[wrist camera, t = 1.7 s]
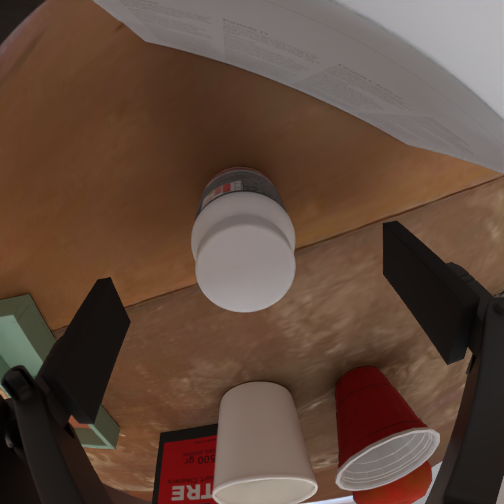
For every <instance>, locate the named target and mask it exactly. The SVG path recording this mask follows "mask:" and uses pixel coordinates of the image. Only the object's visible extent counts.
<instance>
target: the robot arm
mask: <svg viewBox="0 0 504 504" xmlns="http://www.w3.org/2000/svg"><path fill="white" fill-rule="evenodd" d="M383 275H384V276H385V277H386V279H387V280H388V281H389V283H390V284H391V285H392V287H393V288H394V289H395V291H396V292H397V293H398V295H399V296H400V297H401V299H402V300H403V302H404V303H405V304H406V306H407V307H408V308H409V310H410V311H411V313H412V314H413V315H414V317H415V318H416V320H417V321H418V322H419V324H420V325H421V327H422V328H423V330H424V331H425V333H426V334H427V335H428V337H429V338H430V340H431V341H432V343H433V344H434V346H435V347H436V349H437V350H438V352H439V353H440V355H441V356H442V358H443V359H444V361H445V362H446V364H447V365H449V364H451V363H454V362H456V361H459V360H461V359H464V356H465V353H466V350H467V347H468V348H469V349H470V350H471V352H472V353H473V354H472V357H471V360H470V363H469V365H468V368H467V371H466V374H468V375H467V379H466V384H465V388H464V392H463V396H462V400H461V404H460V408H459V412H458V415H457V419H456V422H455V426H454V429H453V432H452V435H451V438H450V441H449V444H448V447H447V450H446V453H445V456H444V459H443V462H442V464H441V467H440V470H439V472H438V475H437V477H436V480H435V482H434V484H433V487H432V489H431V491H430V494H429V496H428V498H427V500H426V503H425V504H496V501H497V497H498V494H499V490H500V487H501V483H502V479H503V476H504V297H496V298H494V297H493V296H492V295H491V294H490V293H489V292H488V291H487V290H486V289H485V288H484V287H483V286H482V285H481V284H480V283H479V282H478V281H477V280H476V281H475V279H474V278H473V277H472V276H471V275H469V273H468V272H467V271H466V270H465V269H464V268H462V267H461V266H459V265H457V264H454V263H452V262H450V263H447V264H446V263H445V262H443V261H442V260H441V259H440V258H439V257H438V256H437V255H436V254H435V253H434V252H432V251H431V250H430V249H429V248H428V247H427V246H426V245H425V244H424V243H422V242H421V241H420V240H419V239H418V238H417V237H416V236H414V235H413V234H412V233H411V232H410V231H409V230H407V229H406V228H405V227H404V226H403V225H401V224H400V223H399V222H398V221H392V222H387V223H383ZM130 322H131V321H130V319H129V317H128V315H127V313H126V311H125V309H124V306H123V304H122V302H121V300H120V298H119V295H118V293H117V291H116V289H115V286H114V284H113V282H112V279H111V277H108V278H103V279H98V280H97V281H96V283H95V284H94V286H93V288H92V289H91V291H90V292H89V294H88V295H87V297H86V298H85V300H84V302H83V303H82V305H81V306H80V308H79V310H78V311H77V313H76V314H75V316H74V318H73V319H72V321H71V323H70V324H69V326H68V328H67V329H66V331H65V333H64V335H63V336H61V337H60V338H59V339H58V340H57V341H56V342H55V343H54V345H53V346H52V348H51V350H50V352H49V354H48V355H47V357H46V360H45V361H44V362H43V364H42V366H41V368H40V370H39V371H38V373H37V375H36V377H35V379H33V377H32V376H31V375H30V373H29V372H28V370H27V369H26V368H25V366H23V365H17V366H14V367H12V368H11V369H9V370H8V371H7V372H6V373H5V374H4V376H3V378H2V380H1V385H2V387H3V388H4V389H5V390H6V392H7V393H8V394H9V395H10V397H11V398H9V399H5V400H4V398H3V397H2V396H1V395H0V504H114V502H113V501H112V499H111V498H110V496H109V494H108V493H107V491H106V490H105V488H104V486H103V484H102V482H101V481H100V479H99V477H98V475H97V474H96V472H95V470H94V468H93V466H92V464H91V462H90V461H89V459H88V457H87V455H86V453H85V451H84V449H83V447H82V445H81V443H80V441H79V438H78V436H77V434H76V432H75V430H74V428H73V426H72V425H71V424H70V423H69V419H70V416H71V415H72V416H73V417H74V419H75V420H76V421H77V422H78V423H79V424H94V423H95V420H96V417H97V414H98V411H99V408H100V405H101V402H102V399H103V396H104V393H105V390H106V387H107V384H108V381H109V378H110V376H111V373H112V370H113V367H114V364H115V362H116V359H117V356H118V354H119V351H120V348H121V346H122V343H123V340H124V338H125V335H126V333H127V330H128V328H129V325H130ZM5 438H6V439H7V440H8V441H9V442H10V447H8V446H7V444H6V440H5Z"/></svg>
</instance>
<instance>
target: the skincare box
mask: <svg viewBox="0 0 504 504" xmlns="http://www.w3.org/2000/svg"><path fill="white" fill-rule="evenodd" d="M93 1H94V2H95V3H97V4H98V5H99V6H101V7H102V8H103V9H104V10H106V11H107V12H108V13H109V14H111V15H112V16H113V17H114V18H116V19H117V20H118V21H122V22H123V23H124V24H125V25H126V26H128V27H129V28H130V29H131V30H132V31H133V32H134V33H136V34H137V35H138V36H139V37H140V38H142V39H143V40H144V41H145V42H149V43H154V44H158V45H162V46H167V47H171V48H175V49H179V50H182V51H186V52H189V53H193V54H196V55H200V56H203V57H207V58H210V59H214V60H217V61H220V62H224V63H227V64H230V65H233V66H236V67H239V68H242V69H245V70H247V71H250V72H253V73H256V74H258V75H261V76H264V77H266V78H269V79H272V80H274V81H277V82H279V83H282V84H284V85H287V86H289V87H292V88H294V89H297V90H299V91H301V92H304V93H306V94H308V95H310V96H313V97H315V98H317V99H319V100H322V101H324V102H326V103H328V104H330V105H333V106H335V107H337V108H339V109H341V110H343V111H345V112H347V113H349V114H351V115H353V116H355V117H357V118H359V119H361V120H363V121H365V122H367V123H369V124H371V125H373V126H374V127H376V128H378V129H380V130H382V131H384V132H385V133H387V134H389V135H391V136H393V137H394V138H396V139H398V140H399V141H401V142H403V143H405V144H406V145H410V146H414V147H418V148H422V149H426V150H430V151H434V152H438V153H442V154H446V155H449V156H452V157H455V158H458V159H461V160H465V161H468V162H471V163H474V164H477V165H480V166H483V167H486V168H489V169H491V170H494V171H496V172H499V173H502V174H504V0H93Z"/></svg>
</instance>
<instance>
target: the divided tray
mask: <svg viewBox="0 0 504 504" xmlns="http://www.w3.org/2000/svg"><path fill="white" fill-rule="evenodd" d="M55 342H56V340H55V338H54V336H53V335H52V333H51V331H50V330H49V328H48V326H47V325H46V323H45V321H44V319H43V318H42V316H41V314H40V312H39V311H38V309H37V307H36V305H35V303H34V301H33V300H32V298H31V296H30V294H27V295H22V296H17V297H12V298H8V299H3V300H0V387H1V389H2V390H3V391H4V392H5V393H6V395H7V396H8V397H9V398H11V397H10V395H9V394H8V393H7V392H6V390H5V389H4V388H3V387H2V385H1V380H2V378H3V376H4V374H5V373H6V372H7V371H8V370H9V369H11V368H12V367H14V366H17V365H23V366H25V368H26V369H27V370H28V372H29V373H30V375H31V376H32V377H33V379H35V377H36V375H37V373H38V371H39V370H40V368H41V366H42V364H43V362H44V361H45V360H46V357H47V355H48V354H49V352H50V350H51V348H52V346H53V345H54V343H55ZM69 423H70V424H71V425H72V426H73V428H74V430H75V432H76V434H77V436H78V438H79V441H80V443H81V445H82V447H90V448H104V449H116V445H117V440H118V436H119V431H120V427H119V426H118V425H117V424H116V423H115V421H114V420H113V419H112V418H111V417H110V415H109V414H108V413H107V412H106V410H105V409H104V408H103V407H102V405H100V408H99V411H98V414H97V417H96V420H95V423H94V424H79V423H78V422H77V421H76V420H75V419H74V417H73V416H72V415H71V416H70V419H69Z"/></svg>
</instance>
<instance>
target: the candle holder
mask: <svg viewBox="0 0 504 504" xmlns="http://www.w3.org/2000/svg"><path fill="white" fill-rule="evenodd" d="M317 489H318V484H317V482H316V480H315V476H314V473H313V469H312V465H311V461H310V458H309V454H308V450H307V447H306V443H305V439H304V436H303V432H302V428H301V424H300V421H299V417H298V413H297V410H296V406H295V403H294V400H293V397H292V395H291V393H290V392H289V391H288V390H287V389H286V388H284V387H283V386H281V385H278V384H275V383H271V382H249V383H244V384H241V385H238V386H236V387H234V388H232V389H230V390H229V391H228V392H226V393H225V395H224V396H223V397H222V399H221V402H220V409H219V419H218V431H217V443H216V456H215V469H214V483H213V491H212V497H213V499H214V500H215V501H216V502H217V503H219V504H296V503H299V502H302V501H304V500H306V499H308V498H310V497H311V496H312V495H314V494H315V493H316V491H317Z"/></svg>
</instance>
